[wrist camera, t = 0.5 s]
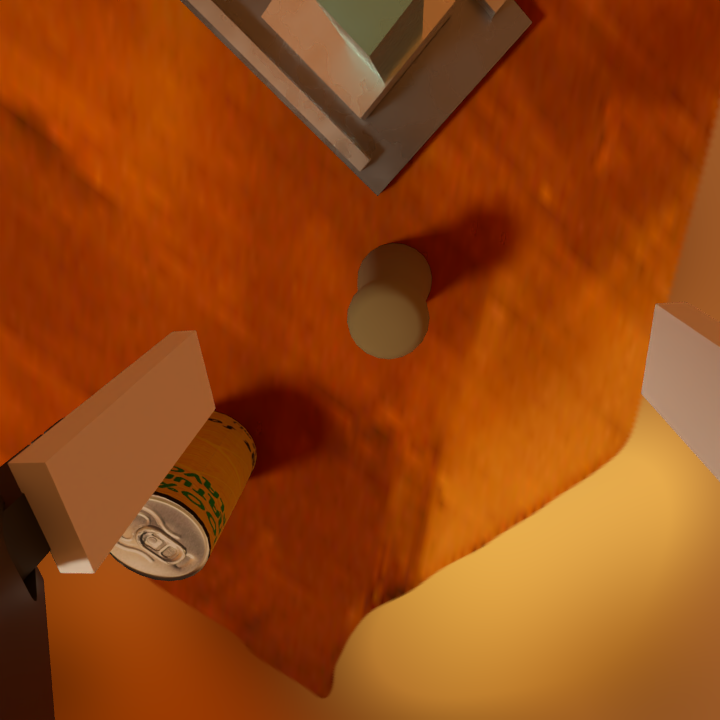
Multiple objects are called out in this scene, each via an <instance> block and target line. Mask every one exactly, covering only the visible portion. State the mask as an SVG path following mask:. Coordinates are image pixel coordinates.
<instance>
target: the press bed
mask: <svg viewBox="0 0 720 720" xmlns="http://www.w3.org/2000/svg"><path fill="white" fill-rule="evenodd" d="M180 1H181V2H182V3H183V4H185V5H186V6H187V7H188V8H189V9H190V10H191V11H192V12H193V13H194V14H195V15H196V16H197V17H198V18H199V19H200V20H201V21H202V22H203V23H204V24H205V25H206V26H207V27H208V28H209V29H210V30H211V31H212V32H213V33H214V34H215V35H216V36H217V37H218V38H219V39H220V40H221V41H222V42H223V43H224V44H225V45H226V46H227V47H228V48H229V49H230V50H231V51H232V52H233V53H234V54H235V55H236V56H237V57H238V58H239V59H240V60H241V61H242V62H243V63H244V64H245V65H246V66H247V67H248V68H249V69H250V70H251V71H252V72H253V73H254V74H255V75H256V76H257V77H258V78H259V79H260V80H261V81H262V82H263V83H264V84H265V85H266V86H267V87H268V88H269V89H270V90H271V91H272V92H273V93H274V94H275V95H276V96H277V97H278V98H279V99H280V100H281V101H282V102H283V103H284V104H285V105H286V106H287V107H288V108H289V109H290V110H291V111H292V112H293V113H294V114H295V115H296V116H298V117H299V118H300V119H301V120H302V121H303V122H304V123H305V124H306V125H307V126H308V127H309V128H310V129H311V130H312V131H313V132H314V133H315V134H316V135H317V136H318V137H319V138H320V139H321V140H322V141H323V142H324V143H325V144H326V145H327V146H328V147H329V148H330V149H331V150H332V151H333V152H334V153H335V154H336V155H337V156H338V157H339V158H340V159H341V160H342V161H343V162H344V163H345V164H346V165H347V166H348V167H349V168H350V169H351V170H352V171H353V172H354V173H355V174H356V175H357V176H358V177H359V178H360V179H361V180H362V181H363V182H364V183H365V184H366V185H367V186H368V187H369V188H370V189H371V190H372V191H373V192H374V193H375V194H376V195H377V196H378V195H379V194H380V193H381V192H382V191H383V189H384V188H385V187H386V186H387V185H388V184H389V183H390V182H391V180H392V179H393V178H394V177H395V176H396V175H397V174H398V173H399V171H400V170H401V169H402V168H403V167H404V166H405V165H406V164H407V162H408V161H409V160H410V159H411V158H412V157H413V156H414V155H415V154H416V152H417V151H418V150H419V149H420V148H421V147H422V146H423V145H424V143H425V142H426V141H427V140H428V139H429V138H430V137H431V136H432V134H433V133H434V132H435V131H436V130H437V129H438V128H439V127H440V126H441V124H442V123H443V122H444V121H445V120H446V119H447V118H448V117H449V115H450V114H451V113H452V112H453V111H454V110H455V109H456V108H457V106H458V105H459V104H460V103H461V102H462V101H463V100H464V99H465V97H466V96H467V95H468V94H469V93H470V92H471V91H472V90H473V89H474V87H475V86H476V85H477V84H478V83H479V82H480V81H481V80H482V78H483V77H484V76H485V75H486V74H487V73H488V72H489V71H490V69H491V68H492V67H493V66H494V65H495V64H496V63H497V62H498V61H499V59H500V58H501V57H502V56H503V55H504V54H505V53H506V52H507V50H508V49H509V48H510V47H511V46H512V45H513V44H514V43H515V41H516V40H517V39H518V38H519V37H520V36H521V35H522V34H523V32H524V31H525V30H526V29H527V28H528V27H529V26H530V25H531V24H532V21H531V20H530V19H529V18H528V17H527V15H526V14H525V13H524V12H523V11H522V9H521V8H520V7H519V6H518V4H517V3H516V2H515V1H514V0H455V5H454V8H453V12H452V15H451V16H450V17H449V18H448V19H447V21H446V22H445V23H444V24H443V26H442V27H441V28H440V29H439V30H438V32H437V33H436V34H435V35H434V37H433V38H432V39H431V40H430V41H429V43H428V44H427V45H426V46H425V48H424V49H423V50H422V51H421V52H420V54H419V55H418V56H417V57H416V59H415V60H414V61H413V62H412V63H411V65H410V66H409V67H408V68H407V70H406V71H405V72H404V73H403V74H402V76H401V77H400V78H399V79H398V81H397V82H396V83H395V84H394V86H393V87H392V88H391V89H390V90H389V92H388V93H387V94H386V95H385V97H384V98H383V99H382V100H381V101H380V103H379V104H378V105H377V106H376V108H375V109H374V110H373V111H372V112H371V114H370V115H369V116H368V117H367V119H366V120H363V119H360V118H359V117H358V116H357V115H356V114H355V113H354V112H353V111H352V110H351V109H350V108H349V107H348V105H347V104H346V103H345V102H344V101H343V100H342V99H341V98H340V97H339V96H338V95H337V94H336V93H335V92H334V91H333V90H332V89H331V88H330V87H329V86H328V85H327V84H326V83H325V82H324V81H323V80H322V79H321V78H320V77H319V76H318V75H317V74H316V73H315V72H314V71H313V70H312V69H311V68H310V66H309V65H308V64H307V63H306V62H305V61H304V60H303V59H302V58H301V57H300V56H299V55H298V54H297V53H296V52H295V51H294V50H293V49H292V48H291V47H290V46H289V45H288V44H287V43H286V42H285V41H284V40H283V39H282V38H281V37H280V36H279V35H278V34H277V33H276V32H275V31H274V30H273V29H272V27H271V26H270V25H269V24H268V23H267V22H266V21H265V20H264V19H263V18H262V17H261V16H262V14H263V13H264V11H265V10H266V8H267V7H268V5H269V4H270V2H271V1H272V0H180Z"/></svg>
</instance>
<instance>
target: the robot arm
mask: <svg viewBox="0 0 720 720" xmlns="http://www.w3.org/2000/svg"><path fill="white" fill-rule="evenodd" d="M641 394H642V395H643V396H644V397H645V398H646V400H647V401H648V402H649V403H650V404H651V405H652V406H653V407H654V408H655V409H656V411H657V412H658V413H659V414H660V415H661V416H662V417H663V419H664V420H665V421H666V422H667V423H668V424H669V425H670V426H671V428H672V429H673V430H674V431H675V432H676V433H677V434H678V435H679V436H680V438H681V439H682V440H683V441H684V442H685V443H686V444H687V445H688V447H689V448H690V449H691V450H692V451H693V452H694V453H695V454H696V456H698V458H699V459H700V460H701V461H702V462H703V463H704V464H705V466H706V467H707V468H708V469H709V470H710V471H711V472H712V473H713V475H714V476H715V477H716V478H717V479H718V480H719V481H720V322H719V321H717V320H716V319H714V318H712V317H711V316H709V315H707V314H706V313H704V312H702V311H701V310H699V309H697V308H696V307H694V306H692V305H691V304H689V303H687V302H676V303H659V304H656V305H655V311H654V317H653V323H652V330H651V336H650V342H649V348H648V355H647V361H646V367H645V373H644V379H643V386H642V392H641ZM215 409H216V408H215V404H214V400H213V396H212V392H211V388H210V384H209V380H208V376H207V372H206V368H205V365H204V361H203V357H202V353H201V349H200V345H199V341H198V337H197V333H196V330H194V331H176V332H171V333H170V334H169V335H168V336H166V337H165V338H164V339H163V340H161V341H160V342H159V343H158V344H156V345H155V346H154V347H153V348H151V349H150V350H149V351H148V352H146V353H145V354H144V355H143V356H141V357H140V358H139V359H138V360H136V361H135V362H134V363H133V364H131V365H130V366H129V367H128V368H126V369H125V370H124V371H123V372H121V373H120V374H119V375H117V376H116V377H115V378H114V379H112V380H111V381H110V382H109V383H107V384H106V385H105V386H104V387H102V388H101V389H100V390H99V391H97V392H96V393H95V394H94V395H92V396H91V397H90V398H89V399H87V400H86V401H85V402H84V403H82V404H81V405H80V406H79V407H77V408H76V409H75V410H74V411H72V412H71V413H70V414H69V415H67V416H66V417H64V418H62V419H60V420H59V421H58V422H56V423H55V424H54V425H53V426H51V427H50V428H49V429H48V430H46V431H45V432H44V435H40V436H39V437H37V438H36V439H35V440H34V441H32V442H31V443H32V444H31V445H27V446H26V447H25V448H24V449H22V450H21V451H20V452H19V453H17V454H16V455H15V456H13V457H12V458H11V459H10V460H8V461H7V462H6V463H5V464H3V465H2V466H1V467H0V720H55V717H54V705H53V693H52V680H51V667H50V655H49V642H48V629H47V617H46V604H45V592H44V580H43V577H42V575H41V573H40V571H39V569H38V568H37V565H38V564H39V563H40V562H41V560H42V559H43V558H44V557H45V556H46V555H47V554H48V553H49V551H50V552H51V554H52V556H53V558H54V561H55V562H56V564H57V567H58V569H59V571H60V572H61V573H95V572H96V570H97V569H98V568H99V566H100V565H101V564H102V562H103V561H104V560H105V558H106V557H107V555H108V554H109V553H110V551H111V550H112V549H113V547H114V546H115V545H116V543H117V542H118V541H119V539H120V538H121V536H122V535H123V534H124V532H125V531H126V530H127V528H128V527H129V526H130V524H131V523H132V522H133V520H134V519H135V517H136V516H137V515H138V513H139V512H140V511H141V509H142V508H143V507H144V505H145V504H146V502H147V501H148V500H149V498H150V497H151V496H152V494H153V493H154V492H155V490H156V489H157V488H158V486H159V485H160V483H161V482H162V481H163V479H164V478H165V477H166V475H167V474H168V473H169V471H170V470H171V469H172V467H173V466H174V464H175V463H176V462H177V460H178V459H179V458H180V456H181V455H182V454H183V452H184V451H185V449H186V448H187V447H188V445H189V444H190V443H191V441H192V440H193V439H194V437H195V436H196V435H197V433H198V432H199V430H200V429H201V428H202V426H203V425H204V424H205V422H206V421H207V420H208V418H209V417H210V416H211V414H212V413H213V411H214V410H215Z"/></svg>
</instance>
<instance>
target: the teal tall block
mask: <svg viewBox="0 0 720 720" xmlns="http://www.w3.org/2000/svg"><path fill="white" fill-rule="evenodd" d="M454 5H455V0H272V1H271V2H270V4H269V5H268V7H267V8H266V10H265V11H264V13H263V14H262V16H261V17H262V18H263V19H264V20H265V21H266V22H267V23H268V24H269V25H270V26H271V27H272V29H273V30H274V31H275V32H276V33H277V34H278V35H279V36H280V37H281V38H282V39H283V40H284V41H285V42H286V43H287V44H288V45H289V46H290V47H291V48H292V49H293V50H294V51H295V52H296V53H297V54H298V55H299V56H300V57H301V58H302V59H303V60H304V61H305V62H306V63H307V64H308V65H309V66H310V68H311V69H312V70H313V71H314V72H315V73H316V74H317V75H318V76H319V77H320V78H321V79H322V80H323V81H324V82H325V83H326V84H327V85H328V86H329V87H330V88H331V89H332V90H333V91H334V92H335V93H336V94H337V95H338V96H339V97H340V98H341V99H342V100H343V101H344V102H345V103H346V104H347V105H348V107H349V108H350V109H351V110H352V111H353V112H354V113H355V114H356V115H357V116H358V117H359V118H360V119H363V120H366V119H367V117H368V116H369V115H370V114H371V112H372V111H373V110H374V109H375V108H376V106H377V105H378V104H379V103H380V101H381V100H382V99H383V98H384V97H385V95H386V94H387V93H388V92H389V90H390V89H391V88H392V87H393V86H394V84H395V83H396V82H397V81H398V79H399V78H400V77H401V76H402V74H403V73H404V72H405V71H406V70H407V68H408V67H409V66H410V65H411V63H412V62H413V61H414V60H415V59H416V57H417V56H418V55H419V54H420V52H421V51H422V50H423V49H424V48H425V46H426V45H427V44H428V43H429V41H430V40H431V39H432V38H433V37H434V35H435V34H436V33H437V32H438V30H439V29H440V28H441V27H442V26H443V24H444V23H445V22H446V21H447V19H448V18H449V17H450V16H451V15H452V12H453V8H454Z"/></svg>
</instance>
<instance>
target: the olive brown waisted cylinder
mask: <svg viewBox="0 0 720 720" xmlns="http://www.w3.org/2000/svg"><path fill="white" fill-rule="evenodd" d="M431 283H432V275H431V270H430V266H429V265H428V263H427V261H426V259H425V258H424V256H423V255H421V254H420V253H419V252H418V251H417V250H416V249H414V248H412V247H410V246H407V245H405V244H397V243H390V244H386V245H382V246H379V247H378V248H376V249H374V250H373V251H371V252H370V253H369V254H368V255H367V256H366V258H365V259H364V260H363V261H362V264H361V266H360V269H359V271H358V292H357V293H356V294H355V295H354V297H353V299H352V301H351V304H350V306H349V308H348V317H347V323H348V327H349V330H350V334H351V336H352V338H353V339H354V341H355V343H356V344H357V346H359V347H360V348H361V349H362V350H363V351H365V352H366V353H367V354H370V355H372V356H375V357H377V358H384V359H393V358H399V357H403V356H404V355H406V354H408V353H410V352H412V351H413V350H414V349H415V348H416V347H417V346H418V345H419V344H420V343H421V342H422V340H423V338H424V337H425V335H426V333H427V331H428V324H429V312H428V307H427V303H426V300H427V297H428V295H429V292H430V290H431Z"/></svg>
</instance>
